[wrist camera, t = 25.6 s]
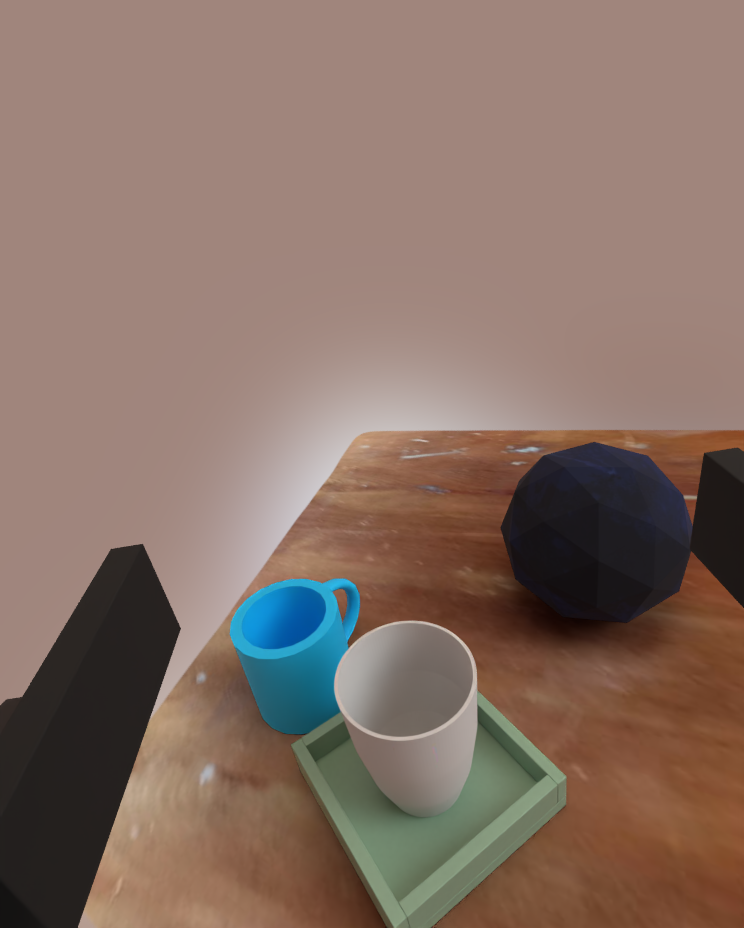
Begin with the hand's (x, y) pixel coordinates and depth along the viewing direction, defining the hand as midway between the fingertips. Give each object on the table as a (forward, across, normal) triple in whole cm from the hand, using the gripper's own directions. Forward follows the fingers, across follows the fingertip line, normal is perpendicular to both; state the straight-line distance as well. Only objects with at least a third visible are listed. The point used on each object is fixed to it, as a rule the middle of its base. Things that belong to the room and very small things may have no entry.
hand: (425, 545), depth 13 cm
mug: (+22, -9, -28) cm, 37 cm away
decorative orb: (+26, +15, -28) cm, 41 cm away
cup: (+11, -2, -28) cm, 30 cm away
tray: (+11, -2, -28) cm, 30 cm away
